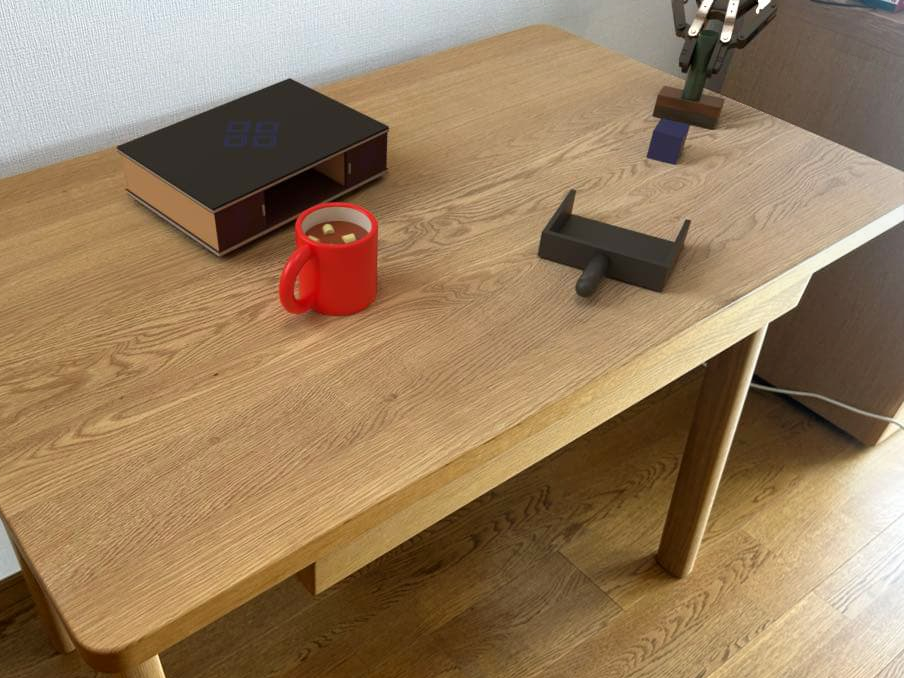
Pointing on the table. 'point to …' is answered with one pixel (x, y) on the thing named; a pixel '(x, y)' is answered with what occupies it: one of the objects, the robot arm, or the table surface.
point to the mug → (332, 261)
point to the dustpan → (608, 250)
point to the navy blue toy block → (668, 141)
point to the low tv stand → (253, 163)
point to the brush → (693, 90)
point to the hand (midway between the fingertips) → (696, 72)
